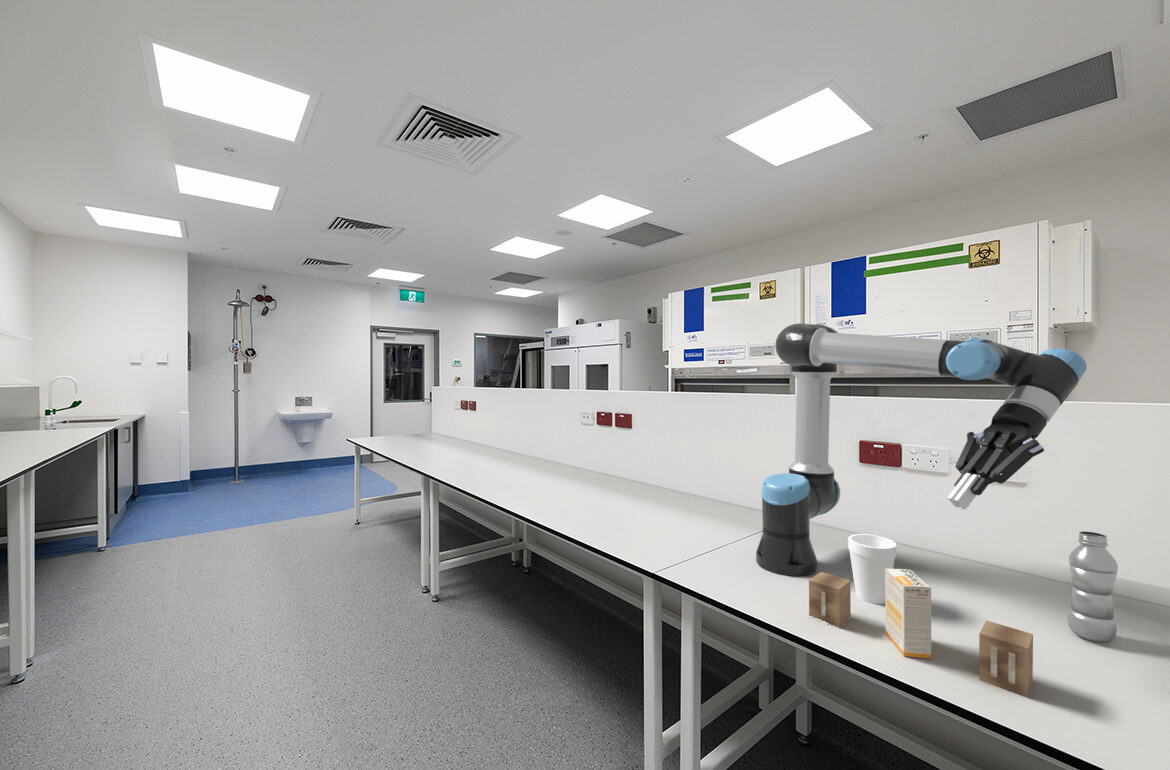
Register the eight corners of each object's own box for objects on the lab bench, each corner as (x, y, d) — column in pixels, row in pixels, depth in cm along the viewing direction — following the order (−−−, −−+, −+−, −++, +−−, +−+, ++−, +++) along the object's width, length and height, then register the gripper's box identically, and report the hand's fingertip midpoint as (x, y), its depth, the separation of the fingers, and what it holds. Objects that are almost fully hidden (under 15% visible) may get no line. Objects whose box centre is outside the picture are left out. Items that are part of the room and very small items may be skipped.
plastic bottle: (1057, 629, 94) (1058, 529, 93) (1088, 627, 94) (1089, 527, 94) (1094, 648, 87) (1096, 541, 87) (1127, 646, 88) (1129, 539, 87)
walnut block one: (808, 617, 100) (808, 580, 100) (821, 607, 104) (820, 571, 104) (838, 629, 96) (838, 589, 95) (850, 617, 100) (850, 580, 100)
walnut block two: (978, 680, 79) (979, 633, 79) (985, 665, 83) (986, 620, 83) (1027, 699, 75) (1028, 649, 74) (1032, 681, 79) (1033, 634, 79)
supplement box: (933, 659, 85) (933, 587, 85) (903, 657, 86) (903, 585, 86) (911, 634, 93) (911, 568, 93) (884, 632, 94) (884, 567, 94)
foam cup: (880, 611, 102) (879, 551, 102) (839, 593, 110) (839, 538, 110) (905, 600, 106) (905, 543, 106) (864, 584, 115) (864, 531, 114)
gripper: (1076, 430, 88) (1005, 527, 85) (997, 423, 102) (934, 506, 99) (1054, 403, 87) (982, 500, 84) (978, 399, 100) (913, 482, 97)
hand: (956, 503), depth 91 cm, fingers closed
